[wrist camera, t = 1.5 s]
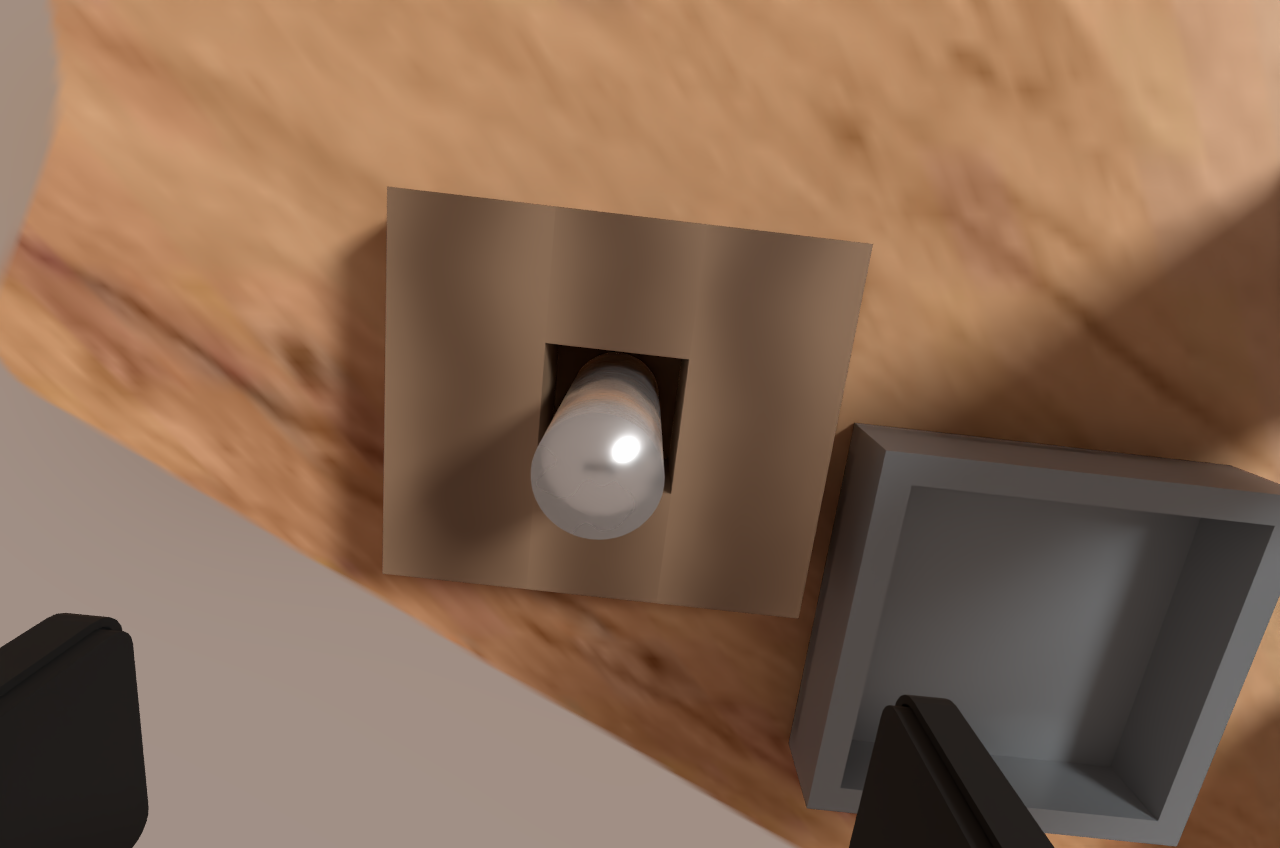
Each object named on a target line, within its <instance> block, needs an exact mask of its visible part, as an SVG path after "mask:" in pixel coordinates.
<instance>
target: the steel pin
mask: <svg viewBox="0 0 1280 848" xmlns="http://www.w3.org/2000/svg"><path fill="white" fill-rule="evenodd" d="M664 480H665V475H664V460H663V445H662V430H661V415H660V401H659V389H658V384H657V381H656V378H655V376H654V375H653V373H652V371H651V370H650V369H649V368H648V366H647V365H646V364H644V363H643V362H642V361H641V360H639V359H638V358H636V357H634V356H632V355H628V354H625V353H617V352H613V353H605V354H602V355H599V356H596V357H595V358H593V359H591V360H590V361H588V362H587V363H586V364H585V365H584V366H583V367H582V368H581V369H580V371H579V372H578V374H577V376H576V377H575V379H574V381H573V383H572V385H571V387H570V388H569V390H568V392H567V394H566V396H565V398H564V399H563V401H562V403H561V405H560V407H559V409H558V410H557V412H556V414H555V416H554V418H553V420H552V421H551V423H550V425H549V427H548V429H547V431H546V432H545V434H544V436H543V438H542V440H541V442H540V443H539V445H538V447H537V449H536V452H535V454H534V457H533V460H532V465H531V485H532V490H533V493H534V496H535V499H536V501H537V503H538V505H539V507H540V508H541V510H542V511H543V512H544V514H545V515H546V516H547V517H548V518H549V519H550V520H551V521H552V522H553V523H554V524H555V525H557V526H558V527H559V528H561V529H563V530H564V531H566V532H568V533H570V534H573V535H575V536H578V537H582V538H587V539H596V540H603V539H611V538H616V537H620V536H623V535H625V534H628V533H630V532H632V531H633V530H635V529H637V528H638V527H640V526H641V525H642V524H643V523H644V522H646V521H647V520H648V518H649V517H650V516H651V515H652V514H653V512H654V511H655V509H656V508H657V506H658V504H659V502H660V499H661V496H662V494H663V489H664Z"/></svg>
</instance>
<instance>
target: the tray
mask: <svg viewBox="0 0 1280 848" xmlns="http://www.w3.org/2000/svg"><path fill="white" fill-rule="evenodd" d="M1279 596H1280V484H1278V483H1275V482H1273V481H1270V480H1267V479H1265V478H1262V477H1260V476H1257V475H1254V474H1252V473H1249V472H1246V471H1244V470H1241V469H1239V468H1236V467H1233V466H1230V465H1221V464H1213V463H1204V462H1195V461H1186V460H1177V459H1168V458H1160V457H1151V456H1142V455H1133V454H1124V453H1116V452H1107V451H1098V450H1089V449H1080V448H1072V447H1063V446H1054V445H1045V444H1036V443H1028V442H1019V441H1010V440H1001V439H992V438H984V437H975V436H966V435H957V434H948V433H940V432H931V431H922V430H913V429H904V428H896V427H887V426H878V425H869V424H860V423H855V424H854V429H853V434H852V438H851V443H850V448H849V453H848V458H847V463H846V467H845V472H844V477H843V482H842V487H841V492H840V497H839V501H838V506H837V511H836V516H835V521H834V526H833V531H832V535H831V540H830V545H829V550H828V555H827V560H826V565H825V569H824V574H823V579H822V584H821V589H820V594H819V599H818V603H817V608H816V613H815V618H814V623H813V628H812V633H811V637H810V642H809V647H808V652H807V657H806V662H805V666H804V671H803V676H802V681H801V686H800V691H799V696H798V700H797V705H796V710H795V715H794V720H793V725H792V730H791V734H790V739H789V746H790V750H791V753H792V757H793V760H794V764H795V768H796V771H797V775H798V778H799V782H800V785H801V789H802V793H803V796H804V800H805V803H806V807H807V808H809V809H818V810H828V811H838V812H848V813H858V808H859V804H860V800H861V796H862V792H863V788H864V784H865V780H866V776H867V771H868V767H869V763H870V759H871V755H872V751H873V747H874V743H875V739H876V734H877V730H878V726H879V722H880V718H881V714H882V712H883V709H884V708H885V707H886V706H888V705H893V706H895V704H896V701H897V700H898V698H899V697H900V696H902V695H915V696H926V697H936V698H946V699H949V700H951V701H952V702H953V703H954V704H955V705H956V706H957V708H958V709H959V710H960V712H961V713H962V715H963V716H964V718H965V719H966V721H967V722H968V724H969V725H970V726H971V728H972V729H973V731H974V732H975V734H976V735H977V737H978V738H979V739H980V741H981V742H982V744H983V745H984V747H985V748H986V750H987V751H988V752H989V754H990V755H991V757H992V758H993V760H994V761H995V763H996V764H997V765H998V767H999V768H1000V770H1001V771H1002V773H1003V774H1004V776H1005V777H1006V779H1007V780H1008V781H1009V783H1010V784H1011V786H1012V787H1013V789H1014V790H1015V792H1016V793H1017V794H1018V796H1019V797H1020V799H1021V800H1022V802H1023V803H1024V805H1025V806H1026V807H1027V809H1028V810H1029V812H1030V813H1031V815H1032V816H1033V818H1034V819H1035V820H1036V822H1037V823H1038V825H1039V826H1040V828H1041V829H1042V831H1043V832H1044V833H1051V834H1061V835H1070V836H1080V837H1090V838H1100V839H1109V840H1119V841H1129V842H1138V843H1148V844H1158V845H1167V846H1177V845H1178V842H1179V840H1180V837H1181V835H1182V832H1183V830H1184V827H1185V825H1186V823H1187V820H1188V818H1189V815H1190V813H1191V810H1192V808H1193V806H1194V803H1195V801H1196V798H1197V796H1198V793H1199V791H1200V788H1201V786H1202V784H1203V781H1204V779H1205V776H1206V774H1207V771H1208V769H1209V767H1210V764H1211V762H1212V759H1213V757H1214V754H1215V752H1216V749H1217V747H1218V745H1219V742H1220V740H1221V737H1222V735H1223V732H1224V730H1225V727H1226V725H1227V723H1228V720H1229V718H1230V715H1231V713H1232V710H1233V708H1234V706H1235V703H1236V701H1237V698H1238V696H1239V693H1240V691H1241V688H1242V686H1243V684H1244V681H1245V679H1246V676H1247V674H1248V671H1249V669H1250V667H1251V664H1252V662H1253V659H1254V657H1255V654H1256V652H1257V649H1258V647H1259V645H1260V642H1261V640H1262V637H1263V635H1264V632H1265V630H1266V628H1267V625H1268V623H1269V620H1270V618H1271V615H1272V613H1273V610H1274V608H1275V606H1276V603H1277V601H1278V598H1279Z"/></svg>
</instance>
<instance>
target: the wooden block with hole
mask: <svg viewBox="0 0 1280 848" xmlns="http://www.w3.org/2000/svg"><path fill="white" fill-rule="evenodd" d="M872 246H873V244H868V243H859V242H851V241H843V240H834V239H826V238H817V237H809V236H800V235H792V234H783V233H775V232H767V231H758V230H750V229H741V228H733V227H724V226H716V225H707V224H699V223H691V222H682V221H674V220H665V219H657V218H648V217H640V216H631V215H623V214H615V213H606V212H598V211H589V210H581V209H572V208H564V207H555V206H547V205H539V204H530V203H522V202H513V201H505V200H496V199H488V198H479V197H471V196H462V195H454V194H446V193H437V192H429V191H420V190H412V189H403V188H395V187H387V255H386V336H385V416H384V496H383V574H391V575H400V576H409V577H419V578H428V579H437V580H446V581H456V582H465V583H474V584H483V585H493V586H502V587H511V588H520V589H530V590H539V591H548V592H557V593H567V594H576V595H585V596H594V597H604V598H613V599H622V600H631V601H641V602H650V603H659V604H668V605H677V606H687V607H696V608H705V609H714V610H724V611H733V612H742V613H751V614H761V615H770V616H779V617H788V618H799V613H800V608H801V603H802V598H803V593H804V588H805V583H806V578H807V573H808V568H809V563H810V558H811V553H812V548H813V543H814V538H815V533H816V528H817V523H818V518H819V513H820V508H821V503H822V498H823V493H824V488H825V483H826V478H827V473H828V468H829V463H830V458H831V453H832V447H833V442H834V437H835V432H836V427H837V422H838V417H839V412H840V407H841V402H842V397H843V392H844V387H845V382H846V377H847V372H848V367H849V362H850V357H851V352H852V347H853V342H854V337H855V332H856V327H857V322H858V317H859V312H860V307H861V302H862V297H863V292H864V287H865V282H866V277H867V272H868V266H869V261H870V256H871V251H872ZM559 345H568V346H577V347H585V348H594V349H603V350H611V351H620V352H629V353H638V354H646V355H655V356H664V357H672V358H681V365H680V373H679V381H678V388H677V396H676V403H675V411H674V419H673V426H672V434H671V442H670V449H669V457H668V460H667V459H663V460H664V475H665V480H664V489H663V494H662V496H661V499H660V502H659V504H658V506H657V508H656V509H655V511H654V512H653V514H652V515H651V516H650V517H649V518H648V520H647V521H646V522H644V523H643V524H642V525H641V526H640V527H638V528H637V529H635V530H633V531H632V532H630V533H628V534H625V535H623V536H620V537H616V538H611V539H603V540H596V539H587V538H582V537H578V536H575V535H573V534H570V533H568V532H566V531H564V530H563V529H561V528H559V527H558V526H557V525H555V524H554V523H553V522H552V521H551V520H550V519H549V518H548V517H547V516H546V515H545V514H544V512H543V511H542V510H541V508H540V507H539V505H538V503H537V501H536V499H535V496H534V493H533V490H532V485H531V465H532V460H533V457H534V454H535V452H536V449H537V447H538V445H539V443H540V442H541V440H542V438H543V436H544V434H545V432H546V431H547V429H548V427H549V425H550V423H551V421H552V420H553V411H554V398H555V386H556V374H557V362H558V349H559Z"/></svg>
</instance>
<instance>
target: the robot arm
mask: <svg viewBox="0 0 1280 848" xmlns="http://www.w3.org/2000/svg"><path fill="white" fill-rule="evenodd" d="M147 798H148V797H147V786H146V776H145V766H144V755H143V745H142V734H141V724H140V713H139V703H138V692H137V682H136V671H135V661H134V650H133V642H132V639H131V636H130V635H129V634H128V633H126V632H124V631H122V627H121V625H120V624H119V623H118V621H117V620H115V619H113V618H110V617H101V616H90V615H81V614H80V615H79V614H71V613H61V614H56V615H53V616H51V617H49V618H47V619H45V620H44V621H42V622H40V623H39V624H37V625H36V626H34V627H32V628H31V629H29V630H28V631H26V632H25V633H23V634H21V635H20V636H18V637H17V638H15V639H14V640H12V641H10V642H9V643H7V644H5V645H4V646H2V647H1V648H0V848H132V847H133V846H134V845H135V843H136V842H137V840H138V839H139V837H140V835H141V834H142V832H143V829H144V827H145V824H146V821H147V817H148V799H147ZM849 848H1054V847H1053V845H1052V844H1051V842H1050V841H1049V839H1048V838H1047V836H1046V835H1045V833H1044V832H1043V831H1042V829H1041V828H1040V826H1039V825H1038V823H1037V822H1036V820H1035V819H1034V818H1033V816H1032V815H1031V813H1030V812H1029V810H1028V809H1027V807H1026V806H1025V805H1024V803H1023V802H1022V800H1021V799H1020V797H1019V796H1018V794H1017V793H1016V792H1015V790H1014V789H1013V787H1012V786H1011V784H1010V783H1009V781H1008V780H1007V779H1006V777H1005V776H1004V774H1003V773H1002V771H1001V770H1000V768H999V767H998V765H997V764H996V763H995V761H994V760H993V758H992V757H991V755H990V754H989V752H988V751H987V750H986V748H985V747H984V745H983V744H982V742H981V741H980V739H979V738H978V737H977V735H976V734H975V732H974V731H973V729H972V728H971V726H970V725H969V724H968V722H967V721H966V719H965V718H964V716H963V715H962V713H961V712H960V710H959V709H958V708H957V706H956V705H955V704H954V703H953V702H952V701H951V700H949V699H946V698H936V697H926V696H915V695H902V696H900V697H899V698H898V700H897V701H896V704H895V706H893V705H888V706H886V707H885V708H884V709H883V712H882V714H881V718H880V722H879V726H878V730H877V734H876V739H875V743H874V747H873V751H872V755H871V759H870V763H869V767H868V771H867V776H866V780H865V784H864V788H863V792H862V796H861V800H860V804H859V808H858V813H857V817H856V821H855V825H854V829H853V833H852V837H851V841H850V845H849Z"/></svg>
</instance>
